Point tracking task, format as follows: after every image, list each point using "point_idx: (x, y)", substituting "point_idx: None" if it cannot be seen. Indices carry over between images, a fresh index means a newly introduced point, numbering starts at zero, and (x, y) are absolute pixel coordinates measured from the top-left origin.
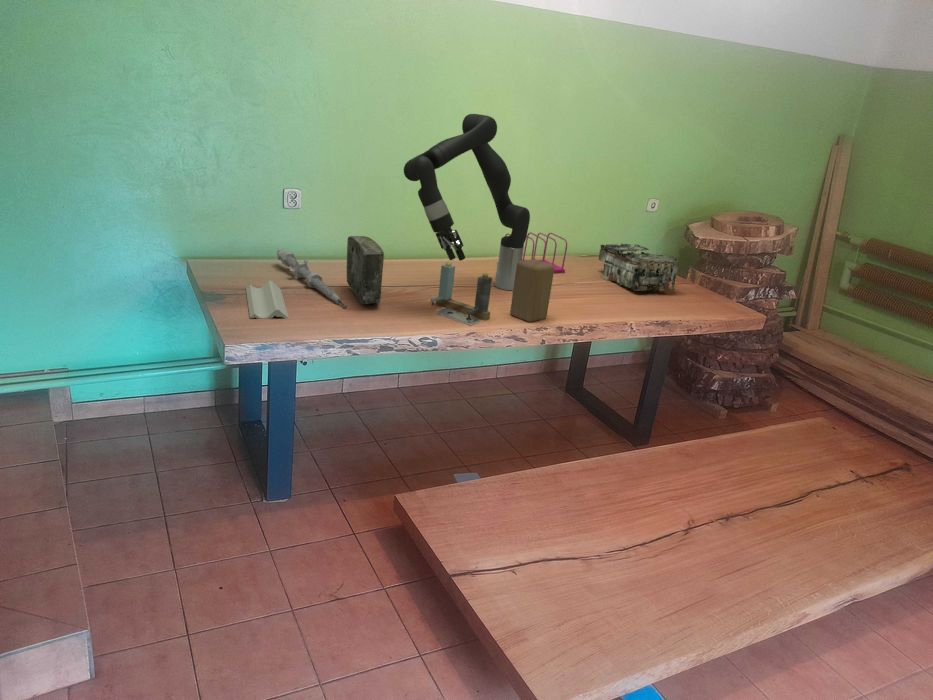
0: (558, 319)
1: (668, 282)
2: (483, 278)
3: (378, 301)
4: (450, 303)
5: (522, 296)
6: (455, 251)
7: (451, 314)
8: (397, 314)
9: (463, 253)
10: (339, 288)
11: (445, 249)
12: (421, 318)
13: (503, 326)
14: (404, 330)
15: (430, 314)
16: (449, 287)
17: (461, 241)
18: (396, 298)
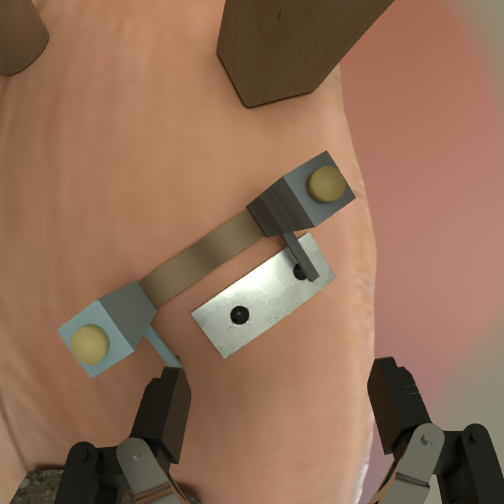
0: None
1: None
2: (340, 206)
3: (196, 499)
4: (173, 296)
5: (308, 63)
6: (384, 451)
7: (257, 316)
8: (230, 454)
9: (403, 385)
10: None
11: (170, 475)
12: (265, 405)
13: None
14: (340, 445)
15: (231, 374)
16: (141, 307)
17: (494, 457)
18: (89, 424)
